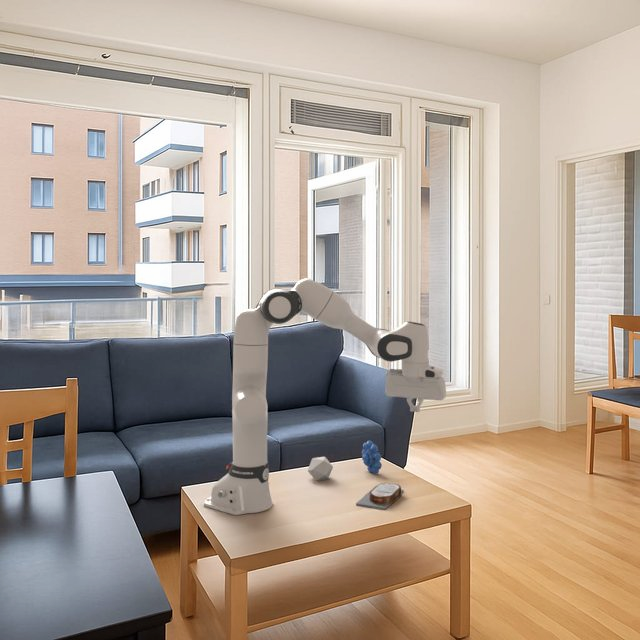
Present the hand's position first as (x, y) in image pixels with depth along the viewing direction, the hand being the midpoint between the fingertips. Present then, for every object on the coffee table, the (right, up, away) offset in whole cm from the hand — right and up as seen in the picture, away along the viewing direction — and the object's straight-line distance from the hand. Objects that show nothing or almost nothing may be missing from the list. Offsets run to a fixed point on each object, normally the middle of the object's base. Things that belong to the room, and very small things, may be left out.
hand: (415, 411), depth 207 cm
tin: (-6, -27, -2) cm, 28 cm away
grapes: (-13, -28, +28) cm, 41 cm away
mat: (-12, -29, +1) cm, 31 cm away
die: (-32, -28, +21) cm, 47 cm away
